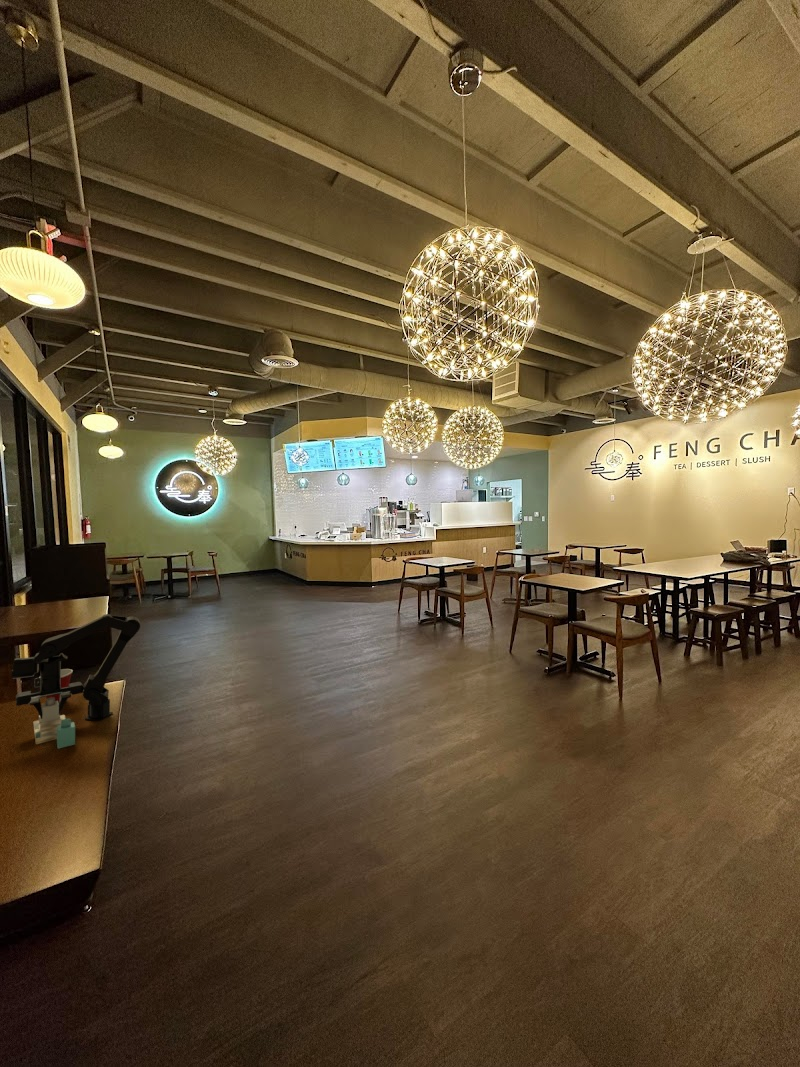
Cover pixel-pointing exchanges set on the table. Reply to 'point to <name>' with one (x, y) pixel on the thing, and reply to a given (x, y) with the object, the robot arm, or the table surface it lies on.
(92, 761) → the table surface
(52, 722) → the backplate with mounted blocks
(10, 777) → the table surface
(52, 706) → the grey plug
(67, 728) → the teal plug
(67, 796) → the table surface
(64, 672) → the plastic cup
